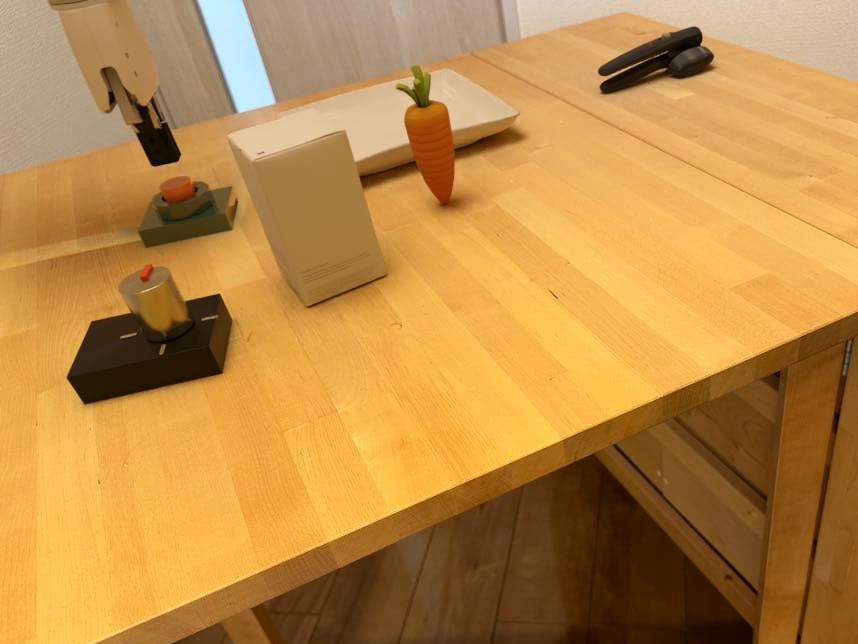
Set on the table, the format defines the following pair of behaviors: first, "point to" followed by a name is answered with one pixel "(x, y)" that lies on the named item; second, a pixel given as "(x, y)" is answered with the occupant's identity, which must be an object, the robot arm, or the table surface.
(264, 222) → the white product box
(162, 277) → the burner knob
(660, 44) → the can opener
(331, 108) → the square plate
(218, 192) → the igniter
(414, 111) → the carrot
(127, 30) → the robot arm
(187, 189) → the button
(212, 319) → the stove panel
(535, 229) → the table surface
